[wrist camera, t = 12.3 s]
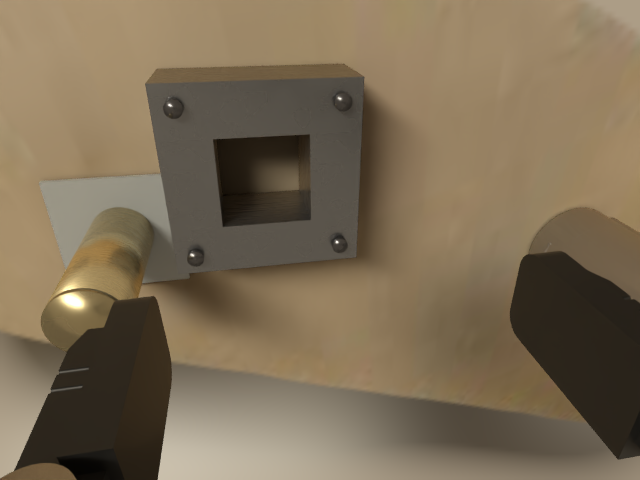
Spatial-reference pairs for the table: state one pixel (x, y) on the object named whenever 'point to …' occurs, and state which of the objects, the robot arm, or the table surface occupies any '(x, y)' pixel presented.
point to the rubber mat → (103, 193)
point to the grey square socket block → (259, 121)
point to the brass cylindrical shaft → (99, 275)
